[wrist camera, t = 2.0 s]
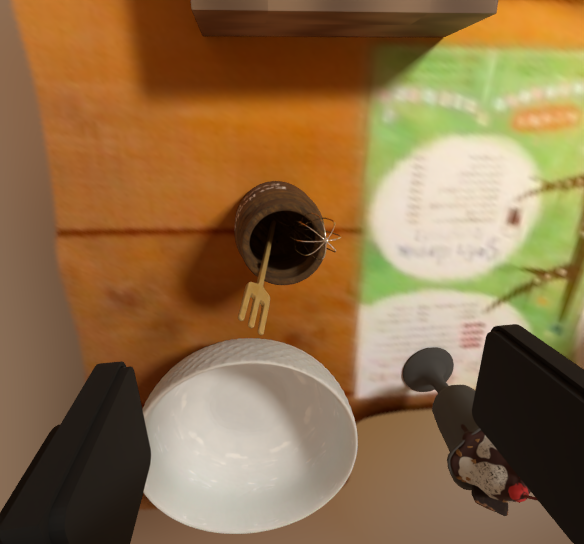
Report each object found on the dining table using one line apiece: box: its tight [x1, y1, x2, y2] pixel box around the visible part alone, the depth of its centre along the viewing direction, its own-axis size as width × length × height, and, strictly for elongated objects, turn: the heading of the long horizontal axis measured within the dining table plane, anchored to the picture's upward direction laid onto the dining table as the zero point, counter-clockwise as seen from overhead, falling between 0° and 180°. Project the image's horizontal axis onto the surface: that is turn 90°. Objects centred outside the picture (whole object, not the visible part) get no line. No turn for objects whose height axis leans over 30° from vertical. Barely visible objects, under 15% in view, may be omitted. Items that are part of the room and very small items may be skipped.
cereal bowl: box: [142, 338, 358, 534], centre depth 30 cm, size 17×17×7 cm
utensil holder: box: [235, 181, 341, 335], centre depth 22 cm, size 6×6×12 cm
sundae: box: [403, 348, 537, 516], centre depth 28 cm, size 7×7×15 cm
